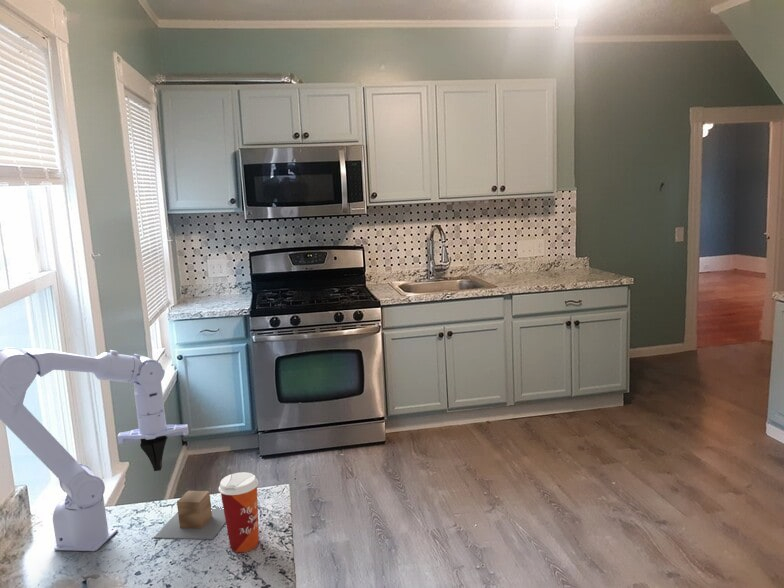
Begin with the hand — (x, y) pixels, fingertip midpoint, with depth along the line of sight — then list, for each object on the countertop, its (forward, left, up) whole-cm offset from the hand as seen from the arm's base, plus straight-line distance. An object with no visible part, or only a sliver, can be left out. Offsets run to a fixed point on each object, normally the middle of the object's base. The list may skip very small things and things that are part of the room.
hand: (158, 469), depth 137 cm
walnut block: (+10, -4, -10) cm, 15 cm away
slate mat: (+10, -4, -10) cm, 15 cm away
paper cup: (+24, -12, -11) cm, 29 cm away
